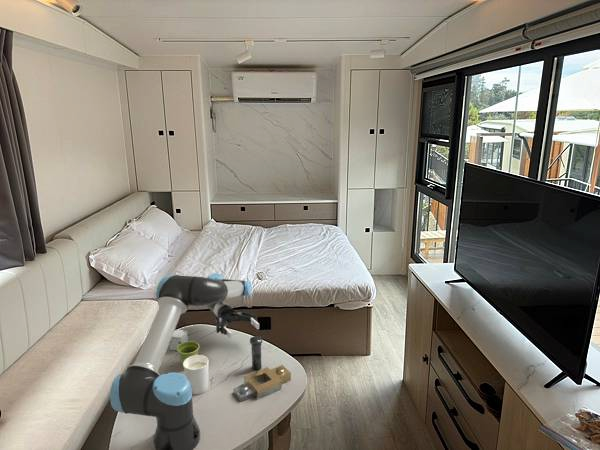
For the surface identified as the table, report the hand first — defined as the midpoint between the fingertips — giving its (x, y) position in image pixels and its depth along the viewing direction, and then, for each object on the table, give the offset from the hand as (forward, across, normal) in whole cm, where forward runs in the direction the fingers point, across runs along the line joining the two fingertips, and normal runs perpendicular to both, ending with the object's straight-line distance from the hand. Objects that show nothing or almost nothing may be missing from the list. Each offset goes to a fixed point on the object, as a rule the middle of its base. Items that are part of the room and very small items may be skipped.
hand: (245, 331), depth 186 cm
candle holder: (+8, +26, -13) cm, 30 cm away
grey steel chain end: (+22, +7, -13) cm, 27 cm away
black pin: (+10, 0, -13) cm, 17 cm away
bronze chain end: (+23, +1, -13) cm, 26 cm away
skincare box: (-24, +22, -13) cm, 36 cm away
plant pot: (-8, +23, -13) cm, 28 cm away
